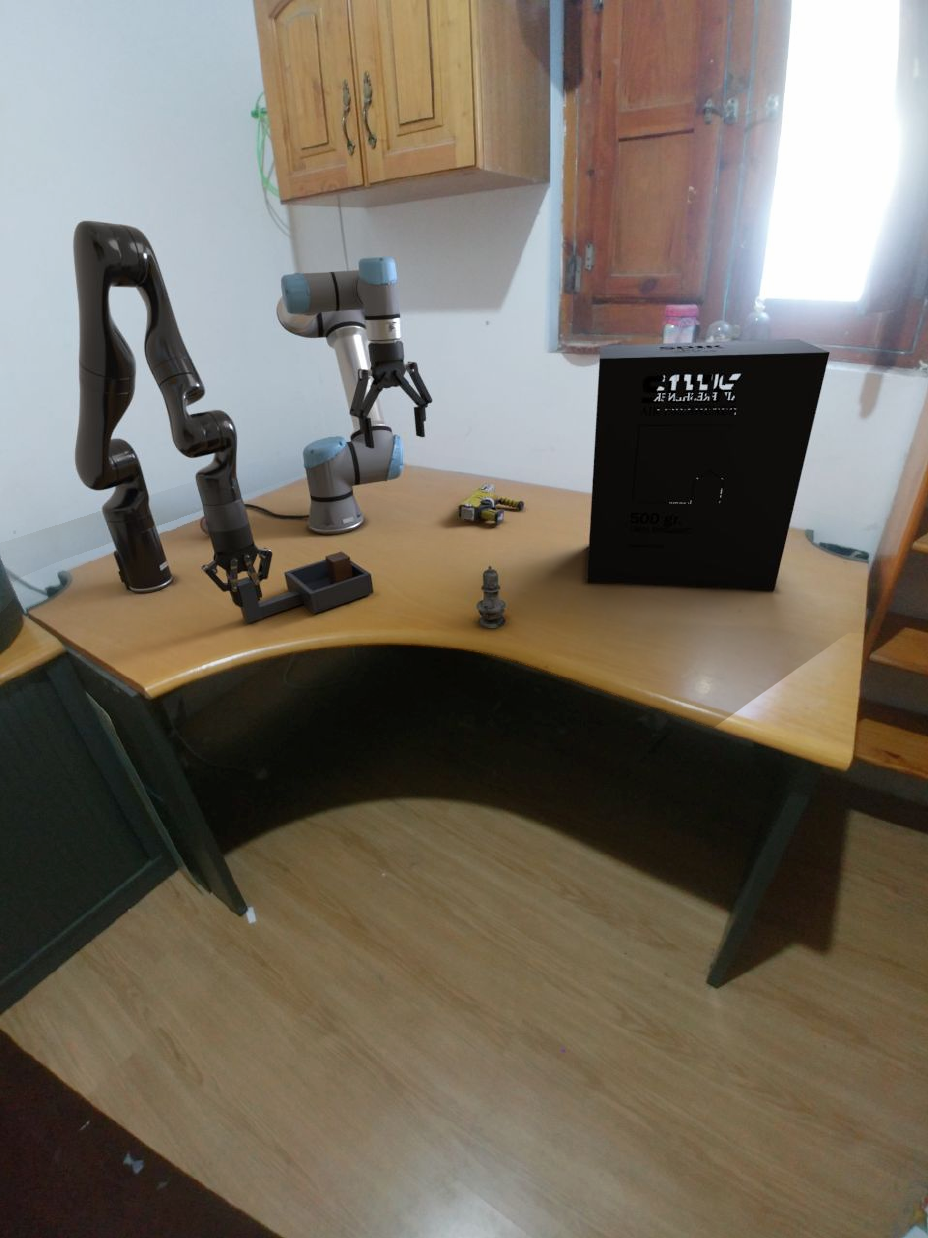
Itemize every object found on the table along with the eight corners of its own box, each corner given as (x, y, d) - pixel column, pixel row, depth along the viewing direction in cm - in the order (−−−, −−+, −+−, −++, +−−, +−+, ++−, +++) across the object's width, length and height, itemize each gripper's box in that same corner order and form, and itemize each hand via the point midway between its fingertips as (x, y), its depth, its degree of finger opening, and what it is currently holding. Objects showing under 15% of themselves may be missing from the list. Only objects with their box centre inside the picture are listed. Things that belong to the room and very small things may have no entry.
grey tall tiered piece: (504, 629, 116) (503, 573, 110) (474, 627, 117) (471, 571, 111) (508, 614, 120) (507, 559, 114) (479, 612, 122) (477, 558, 116)
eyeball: (213, 540, 164) (207, 519, 161) (198, 536, 167) (192, 516, 164) (231, 532, 168) (225, 512, 165) (216, 529, 171) (211, 509, 168)
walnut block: (330, 585, 134) (324, 556, 131) (346, 579, 136) (341, 551, 133) (338, 591, 131) (333, 562, 128) (354, 585, 133) (349, 556, 130)
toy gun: (532, 488, 178) (484, 481, 182) (510, 513, 158) (457, 504, 162) (530, 504, 181) (483, 496, 185) (509, 529, 161) (456, 520, 165)
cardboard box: (754, 550, 140) (797, 339, 118) (774, 590, 123) (829, 352, 101) (589, 545, 148) (601, 345, 125) (586, 582, 131) (599, 358, 108)
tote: (257, 634, 118) (247, 595, 114) (234, 608, 128) (224, 572, 124) (373, 592, 131) (368, 557, 127) (344, 572, 141) (338, 538, 137)
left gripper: (195, 538, 107) (219, 621, 116) (271, 518, 114) (288, 598, 123) (184, 526, 113) (208, 607, 121) (257, 508, 120) (275, 586, 128)
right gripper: (340, 348, 120) (355, 455, 131) (443, 335, 132) (449, 434, 143) (324, 346, 125) (339, 449, 136) (424, 334, 138) (431, 429, 148)
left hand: (248, 602), depth 122 cm, fingers closed on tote, 3 cm apart
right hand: (395, 441), depth 139 cm, fingers open, 13 cm apart
